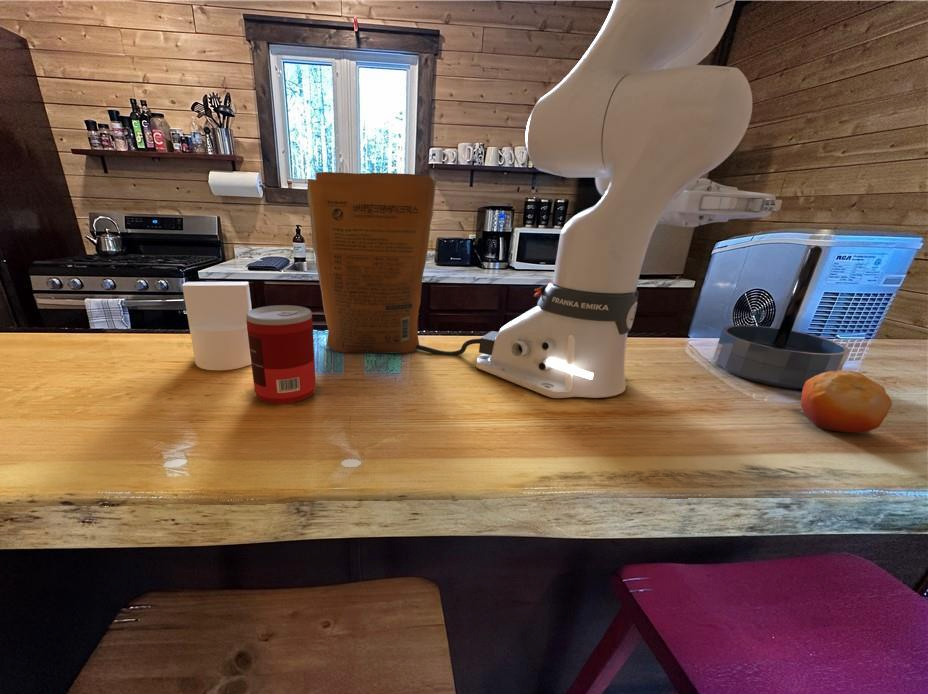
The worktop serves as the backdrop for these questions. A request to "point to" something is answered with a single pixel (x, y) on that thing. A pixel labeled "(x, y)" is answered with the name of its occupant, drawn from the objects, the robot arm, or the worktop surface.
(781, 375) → the bowl
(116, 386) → the worktop surface
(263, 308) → the canned food
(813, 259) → the long black rod
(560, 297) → the robot arm
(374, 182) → the pancake mix bag
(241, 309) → the base with upright slab
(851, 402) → the fruit
